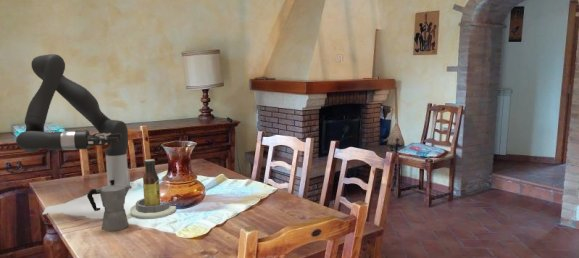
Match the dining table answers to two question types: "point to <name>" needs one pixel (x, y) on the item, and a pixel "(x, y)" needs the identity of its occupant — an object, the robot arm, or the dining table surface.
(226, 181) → the dining table surface
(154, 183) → the sauce bottle
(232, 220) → the dining table surface
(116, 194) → the coffeepot
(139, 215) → the ring tray
